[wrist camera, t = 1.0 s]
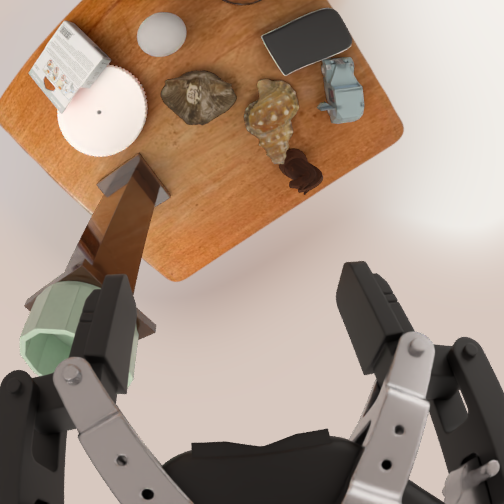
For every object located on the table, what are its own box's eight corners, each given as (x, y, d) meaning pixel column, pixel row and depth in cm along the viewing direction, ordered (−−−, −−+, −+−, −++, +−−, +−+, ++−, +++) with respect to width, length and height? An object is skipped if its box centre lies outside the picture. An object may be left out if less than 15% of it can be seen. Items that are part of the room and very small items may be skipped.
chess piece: (273, 155, 50) (287, 182, 42) (302, 142, 49) (322, 166, 41) (284, 179, 52) (299, 209, 44) (312, 166, 51) (332, 194, 43)
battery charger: (282, 76, 42) (350, 46, 38) (284, 77, 39) (358, 46, 35) (258, 37, 38) (328, 7, 35) (258, 35, 35) (334, 3, 32)
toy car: (345, 56, 40) (359, 59, 36) (352, 115, 46) (365, 124, 43) (305, 60, 40) (315, 63, 37) (315, 121, 47) (325, 130, 43)
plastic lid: (113, 167, 47) (109, 173, 45) (49, 119, 40) (42, 124, 38) (168, 100, 42) (166, 103, 40) (98, 46, 35) (92, 47, 33)
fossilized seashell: (245, 78, 39) (178, 54, 37) (231, 105, 36) (157, 78, 34) (230, 114, 46) (170, 91, 44) (216, 142, 43) (151, 118, 41)
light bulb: (144, 52, 37) (127, 55, 29) (152, 14, 34) (138, 8, 26) (185, 56, 38) (178, 60, 30) (194, 19, 35) (189, 12, 27)
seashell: (300, 112, 48) (314, 159, 44) (252, 124, 50) (259, 172, 46) (288, 69, 40) (303, 115, 36) (234, 84, 42) (239, 131, 38)
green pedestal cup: (91, 181, 48) (2, 348, 21) (140, 145, 46) (61, 312, 19) (129, 225, 54) (83, 403, 28) (177, 196, 52) (156, 382, 25)
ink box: (113, 60, 34) (72, 114, 37) (73, 22, 32) (38, 73, 35) (103, 58, 31) (61, 115, 35) (63, 19, 29) (27, 72, 33)
